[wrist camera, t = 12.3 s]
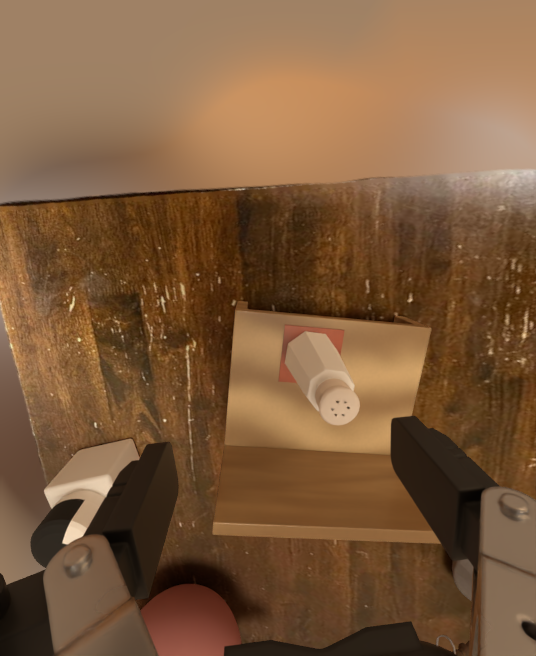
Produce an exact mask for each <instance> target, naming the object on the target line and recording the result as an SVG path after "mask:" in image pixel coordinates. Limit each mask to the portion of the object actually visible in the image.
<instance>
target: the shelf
mask: <svg viewBox="0 0 536 656" xmlns="http://www.w3.org/2000/svg"><path fill="white" fill-rule="evenodd" d="M305 331H308V332H315V333H322V334H326V335H327V337H328V338H329V339H330V341H331V342H332V344H333V345H334V346H335V348H336V349H337V351H338V353H339V355H340V357H341V359H342V361H343V363H344V365H345V367H346V369H347V371H348V372H349V374H350V376H351V378H352V380H353V383H354V385H355V386H354V392H355V394H356V395H357V396H358V398H359V401H360V408H359V412H358V414H357V416H356V417H355V418H354V419H353V420H352V421H350V422H349V423H347V424H344V425H332V424H329V423H327V422H326V421H324V420H323V418H322V417H321V415H320V412H319V411H317V410H316V409H315V408H314V406H313V405H312V404H311V402H310V401H309V400H308V398H307V397H306V396H305V394H304V393H303V391H302V390H301V388H300V387H299V385H298V383H297V382H296V380H295V379H294V377H293V375H292V374H291V372H290V371H289V369H288V368H287V366H286V364H285V358H286V352H287V346H288V343H289V342H291V341H292V340H293V339H295V338H296V337H298V336H299V335H300V334H302V333H303V332H305ZM430 333H431V328H430V327H428V326H425V325H423V324H421V323H418V322H416V321H413V320H411V319H409V318H406V317H404V316H394V321H393V322H382V321H371V320H360V319H350V318H339V317H328V316H317V315H306V314H295V313H284V312H274V311H263V310H252V309H248V302H244V301H238V302H237V305H236V309H235V317H234V330H233V342H232V355H231V367H230V380H229V393H228V405H227V418H226V430H225V443H224V451H223V458H222V465H221V472H220V479H219V486H218V493H217V500H216V507H215V514H214V521H213V535H230V536H256V537H282V538H307V539H333V540H359V541H385V542H411V543H436V544H441V543H440V541H439V540H438V538H437V536H436V535H435V533H434V532H433V530H432V529H431V527H430V526H429V524H428V523H427V521H426V519H425V518H424V516H423V515H422V513H421V512H420V510H419V509H418V507H417V506H416V504H415V503H414V501H413V499H412V498H411V496H410V495H409V493H408V492H407V490H406V489H405V487H404V486H403V484H402V482H401V481H400V479H399V478H398V476H397V475H396V473H395V471H394V469H393V466H392V462H391V456H390V446H391V421H392V419H393V418H397V417H406V416H412V412H413V407H414V403H415V398H416V394H417V390H418V385H419V381H420V376H421V372H422V368H423V363H424V359H425V355H426V350H427V346H428V341H429V337H430Z"/></svg>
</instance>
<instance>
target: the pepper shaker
mask: <svg viewBox="0 0 536 656" xmlns="http://www.w3.org/2000/svg"><path fill="white" fill-rule="evenodd" d="M285 364H286V366H287V368H288V369H289V371H290V372H291V374H292V375H293V377H294V379H295V380H296V382H297V383H298V385H299V387H300V388H301V390H302V391H303V393H304V394H305V396H306V397H307V398H308V400H309V401H310V402H311V404H312V405H313V406H314V408H315V409H316V410H317V411H319V412H320V415H321V417H322V418H323V420H324V421H326V422H327V423H329V424H332V425H344V424H347V423H349V422H350V421H352V420H353V419H354V418H355V417H356V416H357V414H358V412H359V408H360V401H359V398H358V396H357V395H356V394H355V392H354V386H355V385H354V383H353V380H352V378H351V376H350V374H349V372H348V371H347V369H346V367H345V365H344V363H343V361H342V359H341V357H340V355H339V353H338V351H337V349H336V348H335V346H334V345H333V344H332V342H331V341H330V339H329V338H328V337H327V335H326V334H322V333H315V332H308V331H305V332H303V333H302V334H300V335H299V336H298V337H296V338H295V339H293V340H292V341H291V342H289V343H288V346H287V352H286V358H285Z"/></svg>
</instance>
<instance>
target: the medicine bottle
mask: <svg viewBox="0 0 536 656" xmlns="http://www.w3.org/2000/svg"><path fill="white" fill-rule="evenodd" d="M139 459H140V458H139V455H138V452H137V449H136V447H135V444H134V441H133V439H126V440H122V441H117V442H113V443H108V444H104V445H99V446H95V447H91V448H86V449H82V450H79V451H78V452H77V453H76V454H75V455H74V456H73V457H72V459H71V460H70V461H69V462H68V463H67V464H66V465H65V466H64V468H63V469H62V470H61V471H60V472H59V473H58V474H57V476H56V477H55V478H54V479H53V480H52V481H51V482H50V484H49V485H48V486H47V487H46V488H45V490H44V493H45V495H46V498H47V500H48V502H49V504H50V506H51V508H52V510H51V511H50V512H49V513H48V515H47V516H46V517H45V519H44V520H43V521H42V522H41V524H40V525H39V526H38V528H37V529H36V530H35V531H34V533H33V535H32V537H31V551H32V554H33V556H34V558H35V559H36V561H37V562H38V563H39V564H40V565H42V566H43V567H45V568H46V567H47V565H48V564H49V562H50V561H51V559H52V558H53V557H54V556H55V555H56V554H57V553H58V552H59V551H60V550H61V549H62V548H63V547H65V546H66V545H67V544H69V543H71V542H72V541H74V540H76V539H78V538H81V537H83V535H84V533H85V532H86V530H87V528H88V526H89V525H90V523H91V521H92V519H93V518H94V516H95V514H96V512H97V511H98V509H99V507H100V505H101V504H102V502H103V500H104V498H106V497H107V493H108V491H109V490H110V488H111V487H112V486H113V485H112V484H113V483H114V481H115V479H116V477H117V476H118V474H119V472H120V471H121V470H122V469H123V468H125V467H126V466H127V465H128V464H129V463H130V462H131V461H135V460H139Z"/></svg>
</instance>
